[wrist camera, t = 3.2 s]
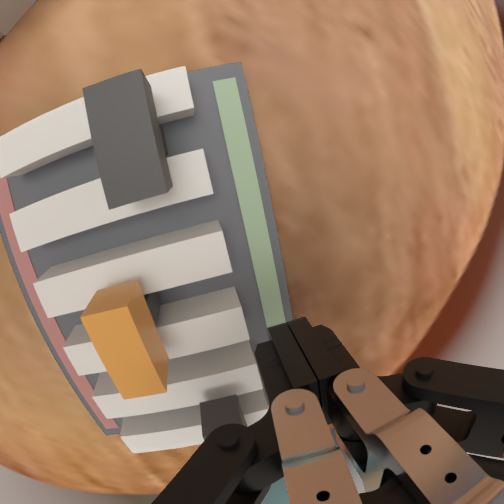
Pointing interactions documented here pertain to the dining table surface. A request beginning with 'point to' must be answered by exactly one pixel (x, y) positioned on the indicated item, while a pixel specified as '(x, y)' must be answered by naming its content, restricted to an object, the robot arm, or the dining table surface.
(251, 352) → the breaker panel
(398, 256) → the dining table surface
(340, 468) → the robot arm
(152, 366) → the handle
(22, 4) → the circuit breaker
